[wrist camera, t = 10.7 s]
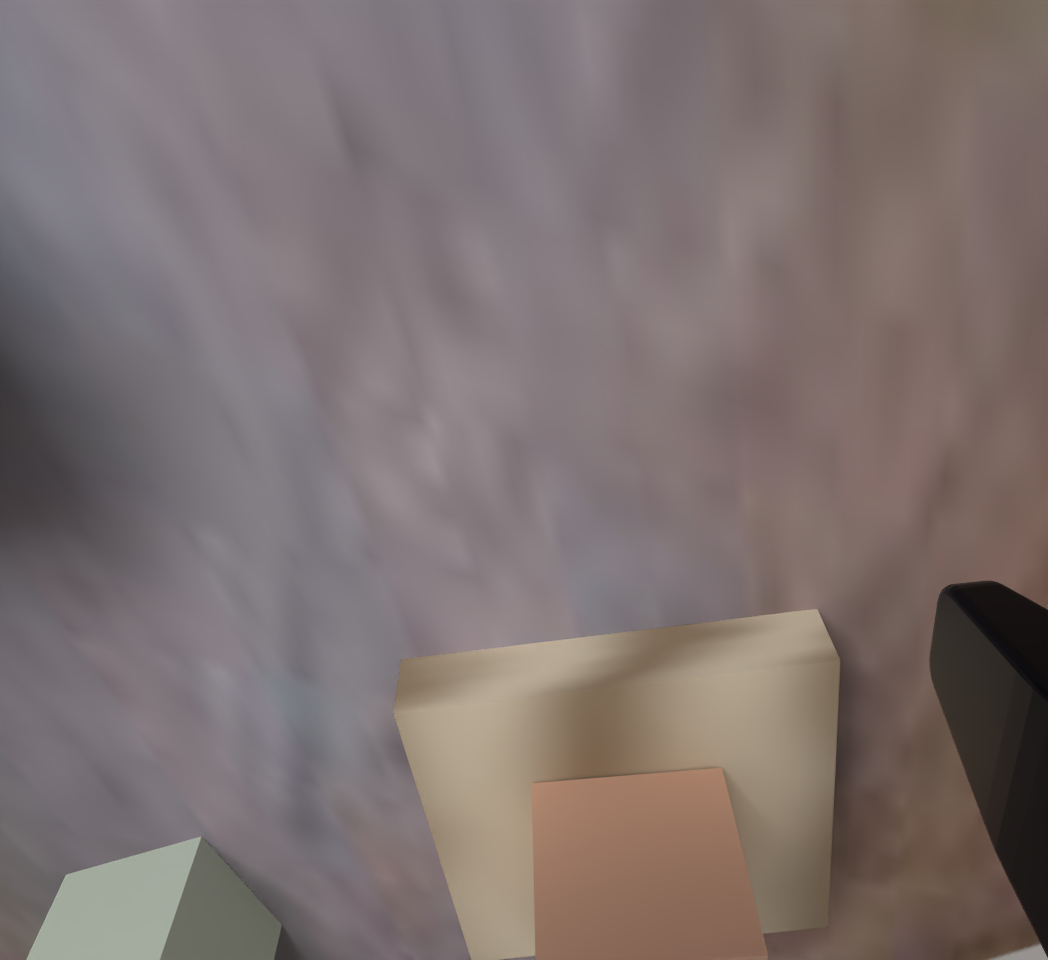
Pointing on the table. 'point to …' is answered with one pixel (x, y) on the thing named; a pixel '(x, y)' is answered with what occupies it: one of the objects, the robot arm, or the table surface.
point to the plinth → (627, 752)
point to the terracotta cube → (641, 870)
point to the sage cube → (158, 911)
